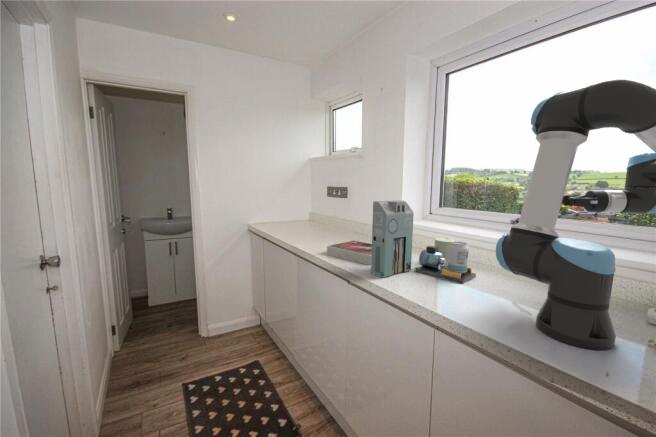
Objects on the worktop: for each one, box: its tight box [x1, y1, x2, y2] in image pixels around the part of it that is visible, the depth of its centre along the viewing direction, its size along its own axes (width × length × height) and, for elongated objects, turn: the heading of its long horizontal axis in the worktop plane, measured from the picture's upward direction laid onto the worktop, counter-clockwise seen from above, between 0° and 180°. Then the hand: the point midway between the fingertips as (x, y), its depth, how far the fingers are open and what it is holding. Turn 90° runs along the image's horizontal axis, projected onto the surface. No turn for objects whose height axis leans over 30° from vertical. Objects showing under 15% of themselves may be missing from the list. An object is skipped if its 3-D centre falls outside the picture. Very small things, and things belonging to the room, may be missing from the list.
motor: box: [414, 245, 477, 285], centre depth 118 cm, size 12×20×10 cm, turn 41°
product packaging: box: [326, 239, 372, 266], centre depth 148 cm, size 22×28×5 cm
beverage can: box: [447, 241, 469, 274], centre depth 114 cm, size 7×7×12 cm
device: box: [370, 199, 415, 279], centre depth 119 cm, size 16×8×30 cm, turn 126°
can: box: [434, 237, 457, 267], centre depth 134 cm, size 9×9×12 cm
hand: (530, 199), depth 102 cm, fingers open, 13 cm apart
